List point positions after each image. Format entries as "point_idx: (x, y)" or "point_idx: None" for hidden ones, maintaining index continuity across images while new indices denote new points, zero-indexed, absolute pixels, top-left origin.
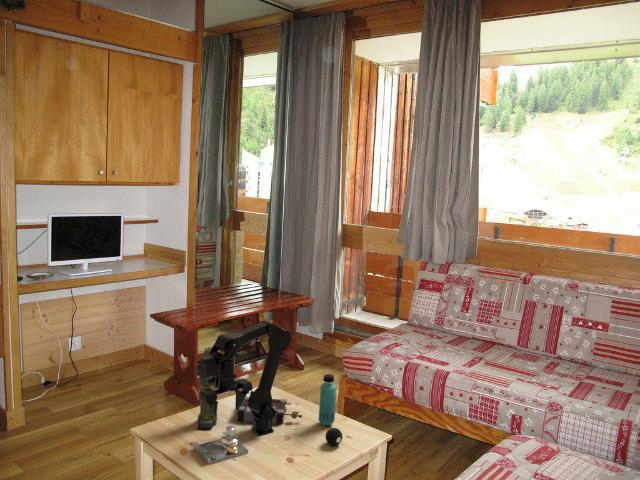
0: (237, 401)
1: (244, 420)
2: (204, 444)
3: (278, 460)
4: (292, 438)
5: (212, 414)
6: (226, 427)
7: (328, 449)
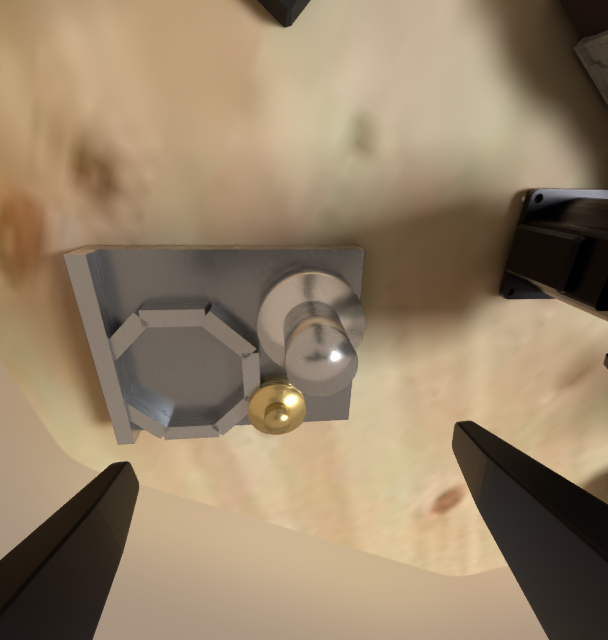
0: (543, 562)
1: (587, 46)
2: (155, 264)
3: (411, 491)
4: (587, 385)
5: (85, 487)
6: (298, 349)
7: (599, 495)
